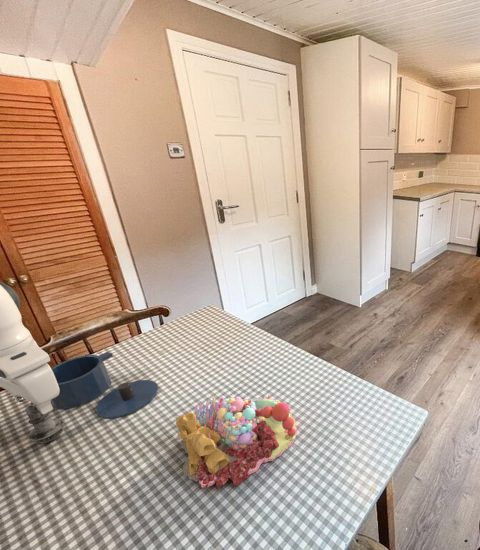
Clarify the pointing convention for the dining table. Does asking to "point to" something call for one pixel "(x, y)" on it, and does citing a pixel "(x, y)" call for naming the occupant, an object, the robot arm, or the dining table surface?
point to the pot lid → (127, 399)
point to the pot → (80, 380)
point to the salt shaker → (43, 426)
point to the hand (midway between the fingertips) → (34, 405)
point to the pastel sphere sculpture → (234, 438)
